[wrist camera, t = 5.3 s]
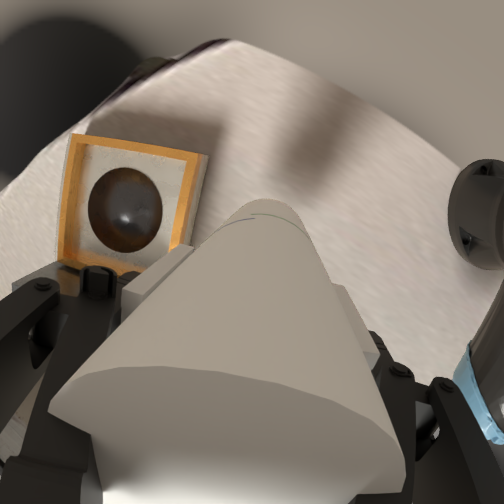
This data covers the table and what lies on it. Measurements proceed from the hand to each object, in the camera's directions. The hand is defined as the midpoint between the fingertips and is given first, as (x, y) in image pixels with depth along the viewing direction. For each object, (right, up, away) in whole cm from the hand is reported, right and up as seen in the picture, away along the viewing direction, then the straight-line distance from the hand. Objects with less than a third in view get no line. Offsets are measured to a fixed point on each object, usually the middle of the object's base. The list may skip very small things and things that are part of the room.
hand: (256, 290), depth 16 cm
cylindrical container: (+1, +3, +13) cm, 13 cm away
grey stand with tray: (-16, +5, +22) cm, 28 cm away
